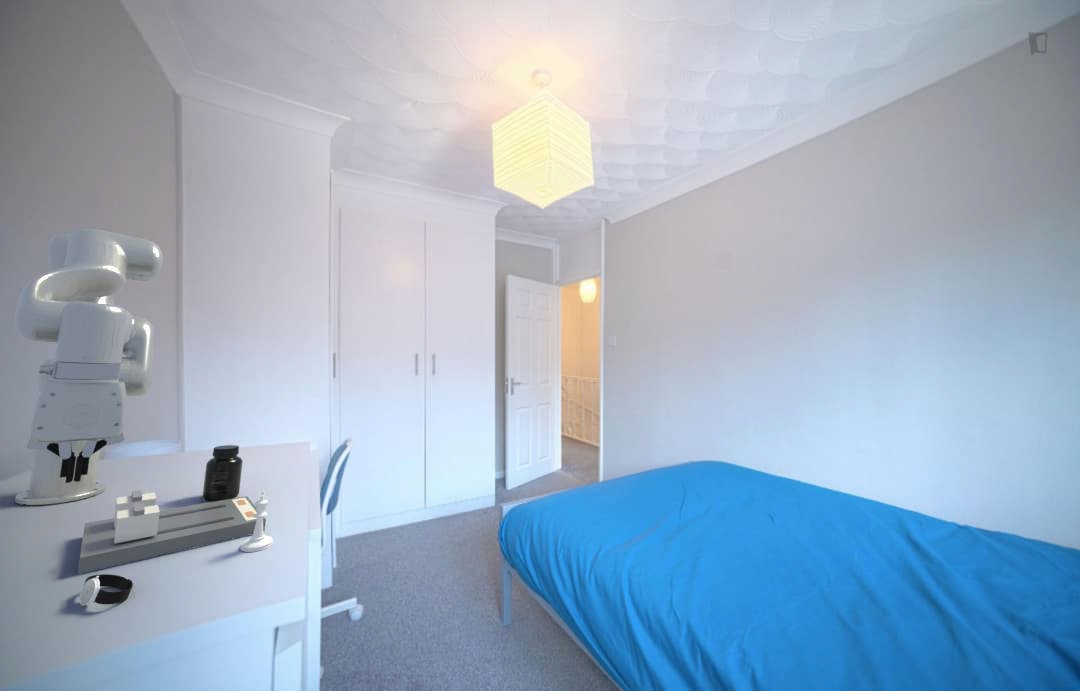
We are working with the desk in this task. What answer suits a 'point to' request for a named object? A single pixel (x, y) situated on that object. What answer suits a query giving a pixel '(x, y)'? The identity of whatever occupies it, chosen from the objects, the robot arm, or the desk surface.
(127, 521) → the switch
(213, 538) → the switch panel
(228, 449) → the supplement bottle
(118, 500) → the switch
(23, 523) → the desk surface
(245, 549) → the chess piece
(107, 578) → the watch
